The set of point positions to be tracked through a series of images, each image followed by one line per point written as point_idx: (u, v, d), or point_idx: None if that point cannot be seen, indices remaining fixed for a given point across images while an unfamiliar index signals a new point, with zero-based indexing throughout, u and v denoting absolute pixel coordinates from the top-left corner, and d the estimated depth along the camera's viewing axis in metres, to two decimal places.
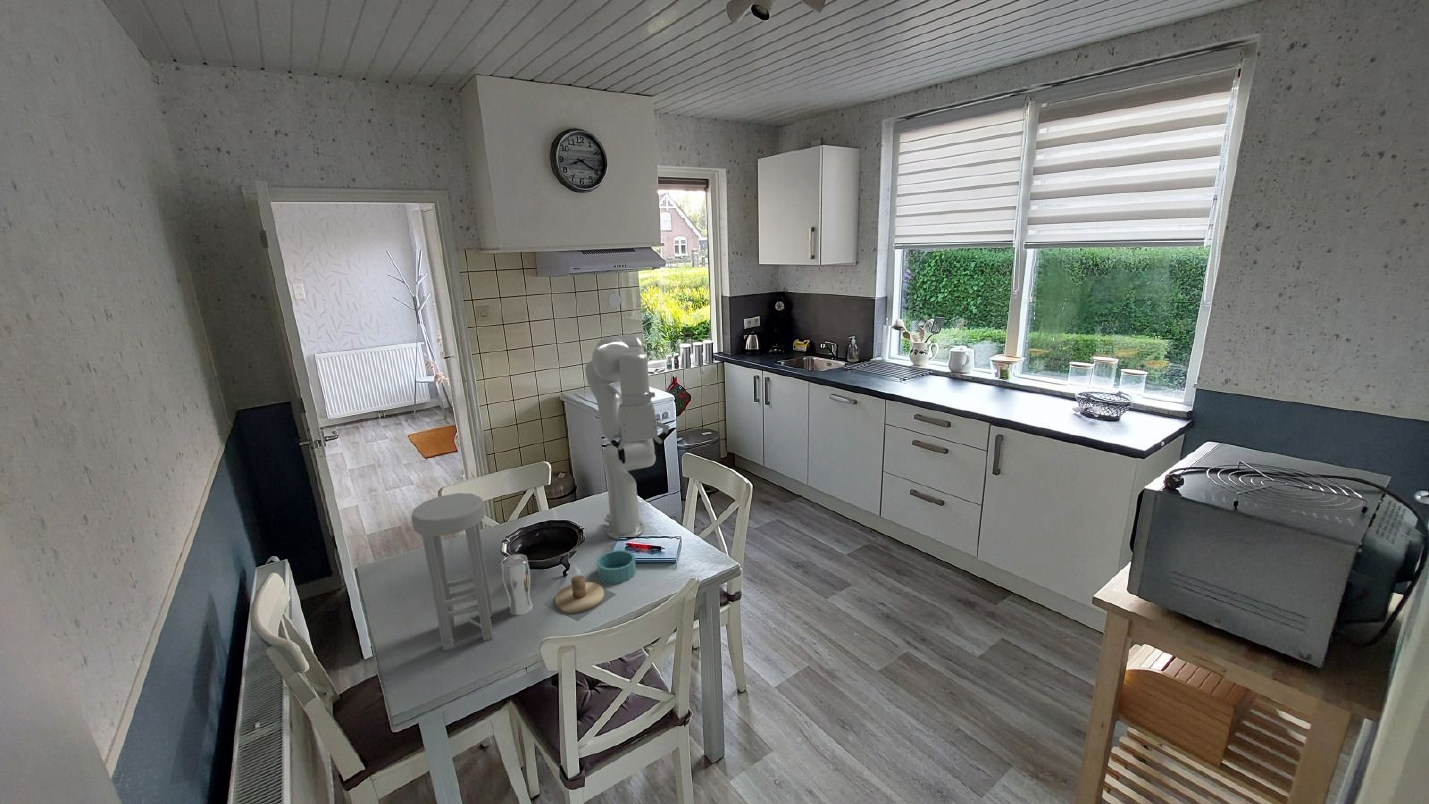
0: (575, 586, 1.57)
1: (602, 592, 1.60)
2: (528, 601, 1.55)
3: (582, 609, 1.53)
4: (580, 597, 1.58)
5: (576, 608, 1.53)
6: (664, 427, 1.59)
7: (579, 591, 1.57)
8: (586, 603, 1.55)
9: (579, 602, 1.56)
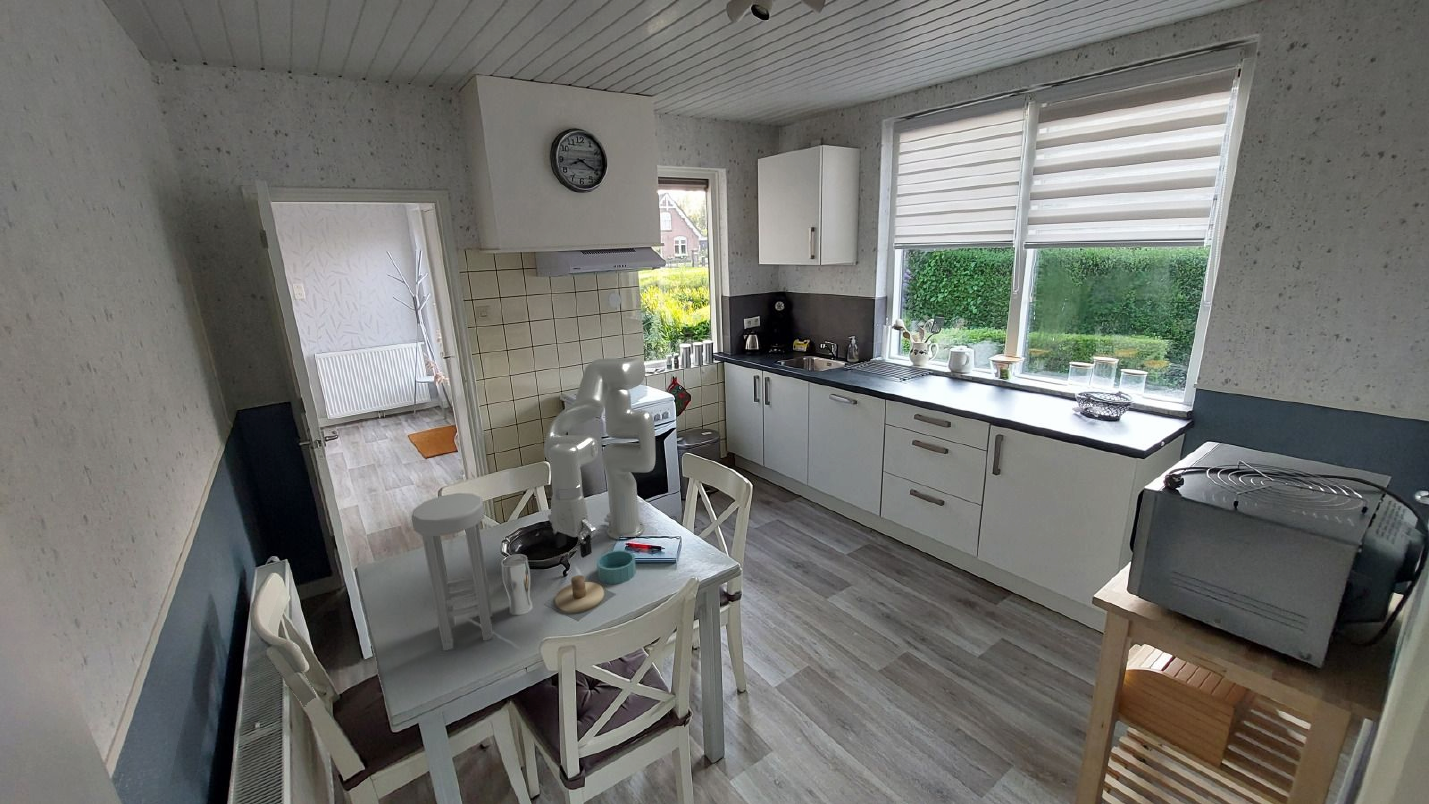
0: (575, 586, 1.57)
1: (602, 592, 1.60)
2: (528, 601, 1.55)
3: (582, 609, 1.53)
4: (580, 597, 1.58)
5: (576, 608, 1.53)
6: None
7: (579, 591, 1.57)
8: (586, 603, 1.55)
9: (579, 602, 1.56)
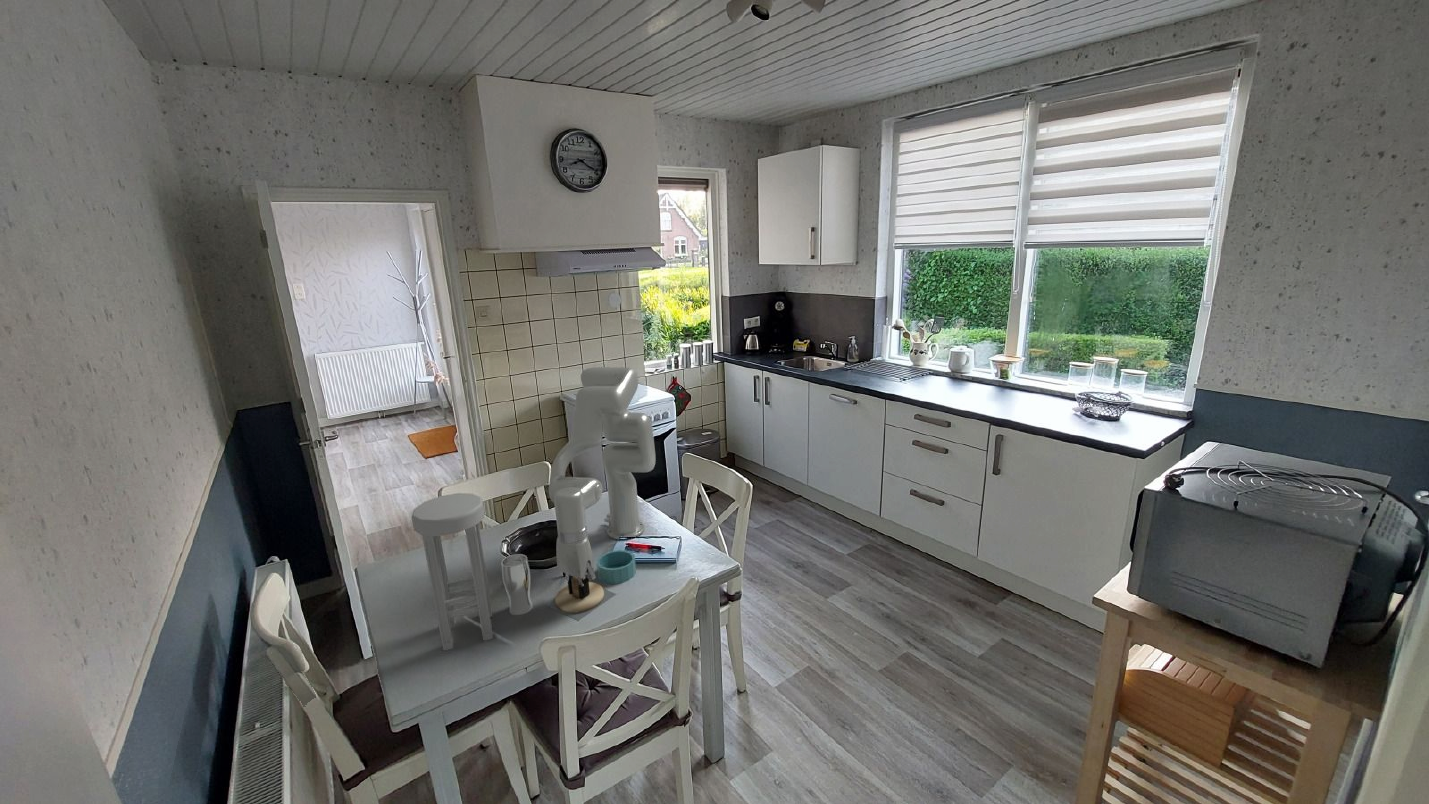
0: (575, 586, 1.57)
1: (602, 592, 1.60)
2: (528, 601, 1.55)
3: (582, 609, 1.53)
4: None
5: (576, 608, 1.53)
6: None
7: None
8: (586, 603, 1.55)
9: (579, 602, 1.56)
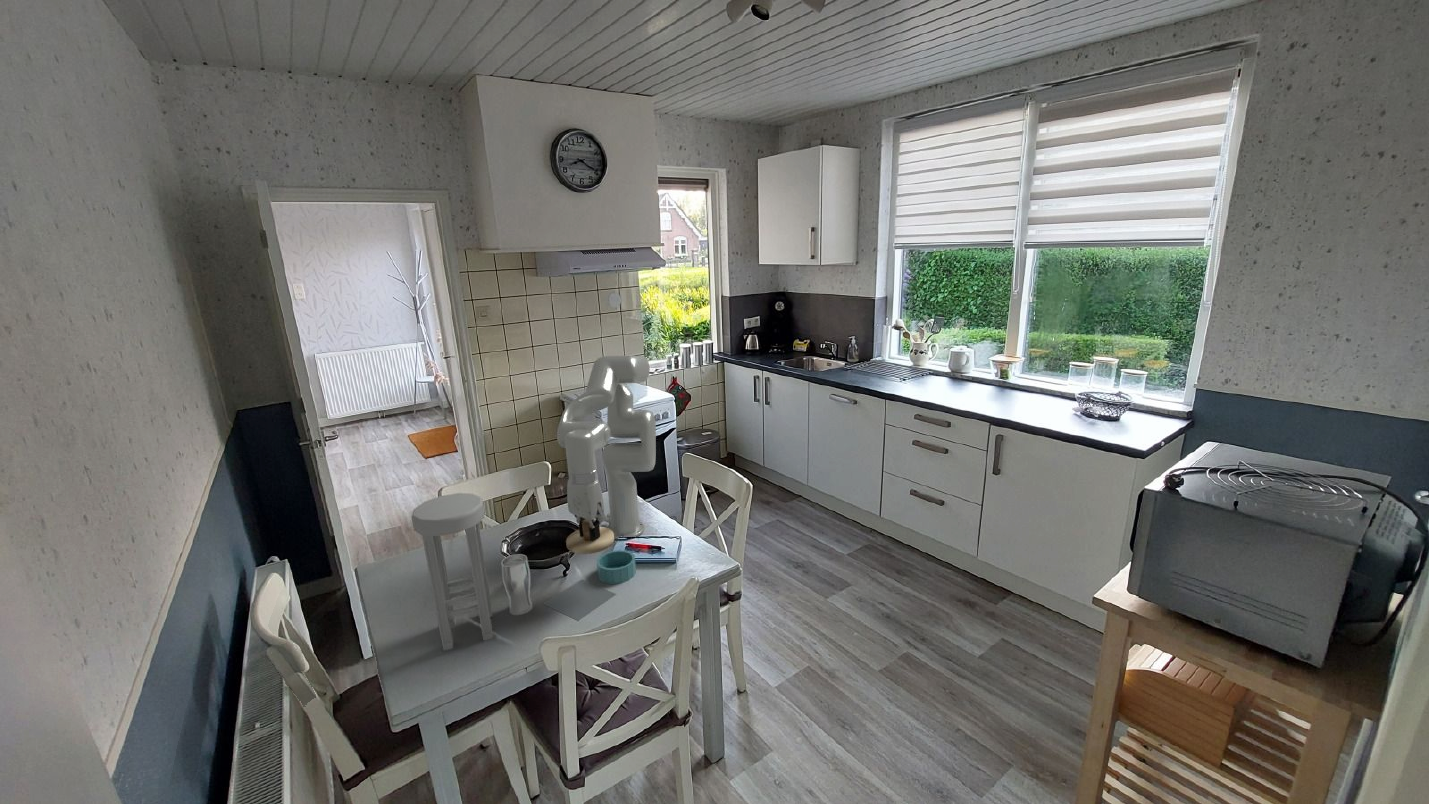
0: (586, 528, 1.58)
1: (612, 535, 1.61)
2: (528, 601, 1.55)
3: (593, 550, 1.55)
4: None
5: (587, 549, 1.55)
6: None
7: None
8: (597, 545, 1.57)
9: (590, 544, 1.57)
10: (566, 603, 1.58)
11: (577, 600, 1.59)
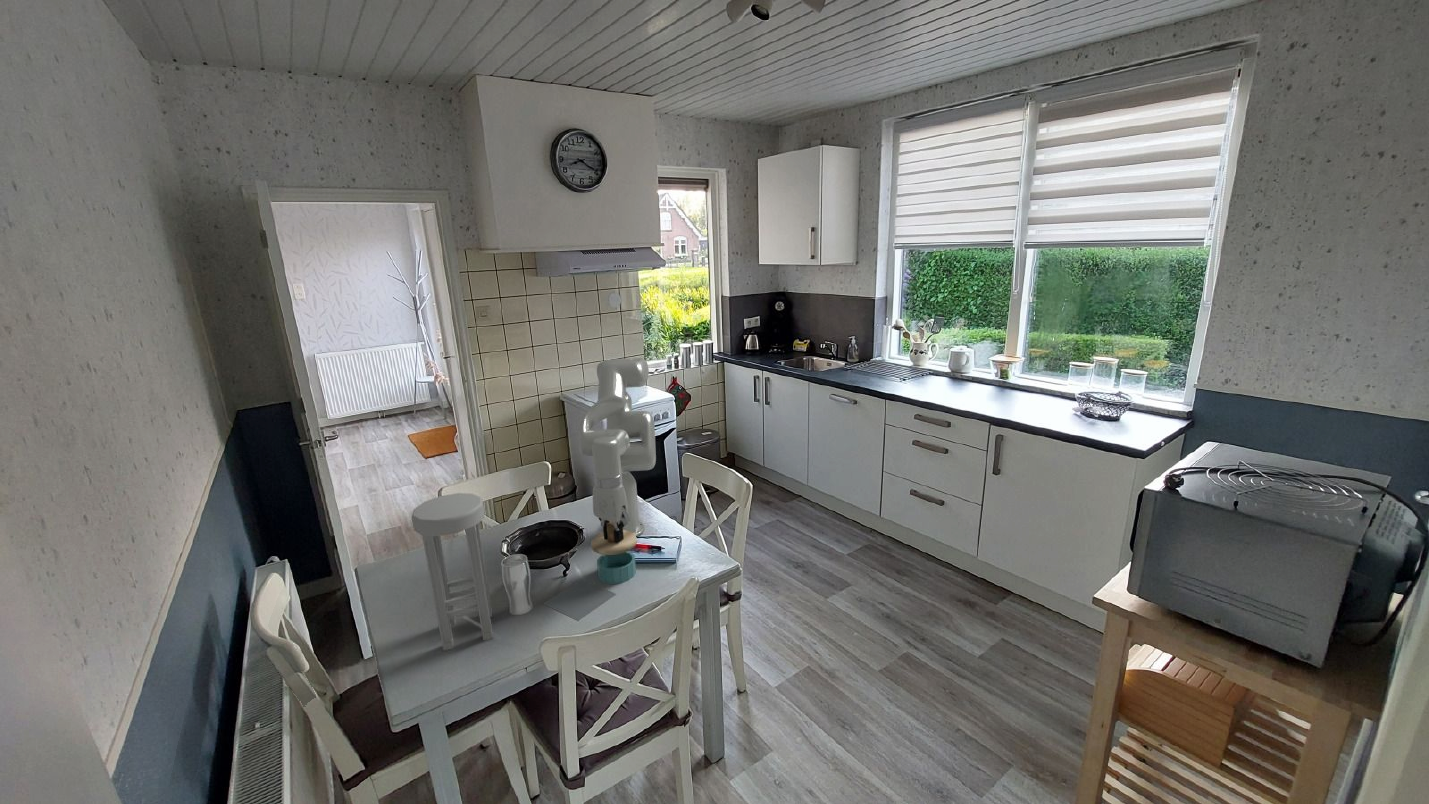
0: (611, 531, 1.66)
1: (635, 537, 1.69)
2: (528, 601, 1.55)
3: (618, 551, 1.63)
4: None
5: (612, 550, 1.63)
6: None
7: None
8: (621, 546, 1.65)
9: (615, 545, 1.65)
10: (566, 603, 1.58)
11: (577, 600, 1.59)
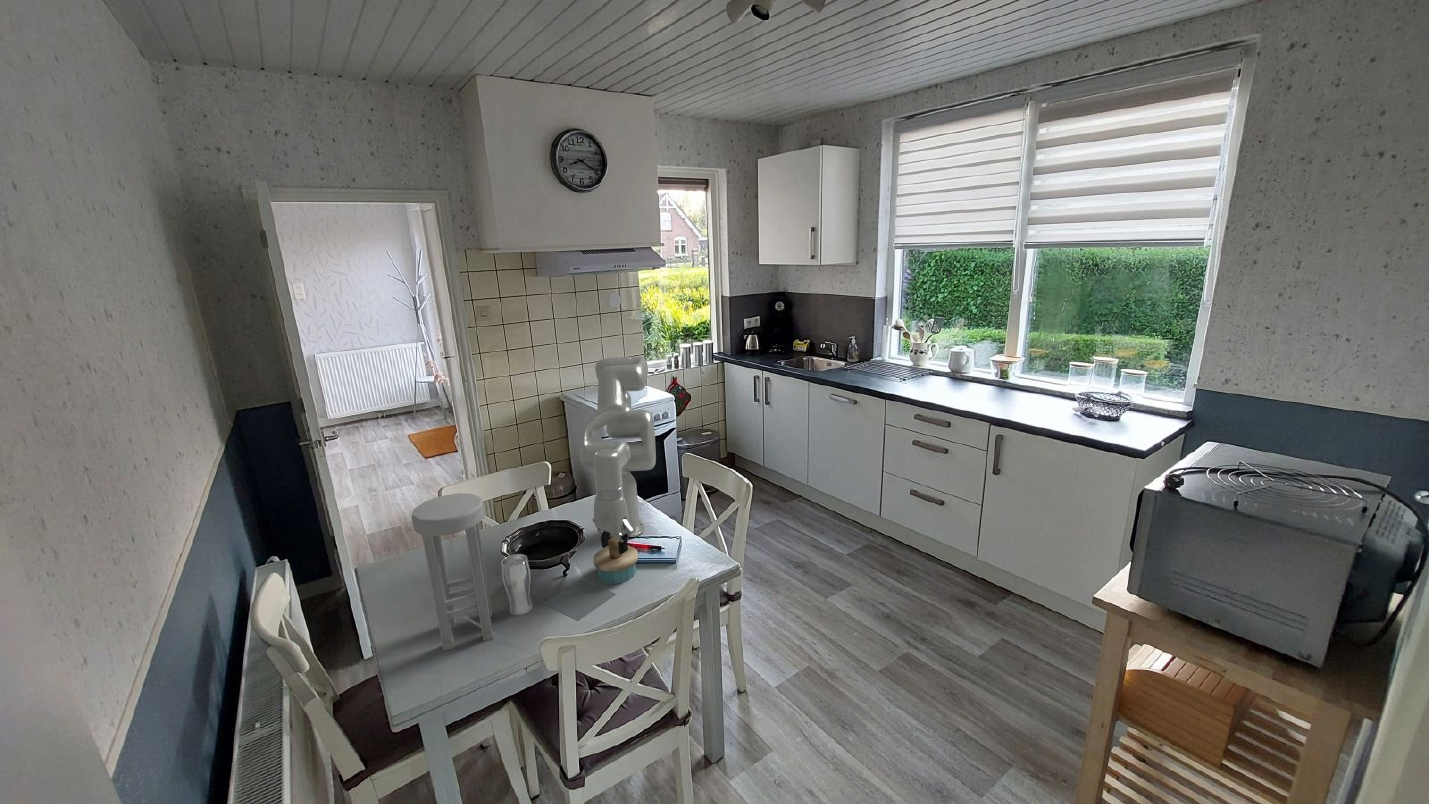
0: (612, 547, 1.68)
1: (636, 553, 1.71)
2: (528, 601, 1.55)
3: (619, 567, 1.64)
4: (616, 557, 1.69)
5: (614, 567, 1.64)
6: None
7: (616, 552, 1.68)
8: (623, 562, 1.66)
9: (616, 562, 1.67)
10: (566, 603, 1.58)
11: (577, 600, 1.59)
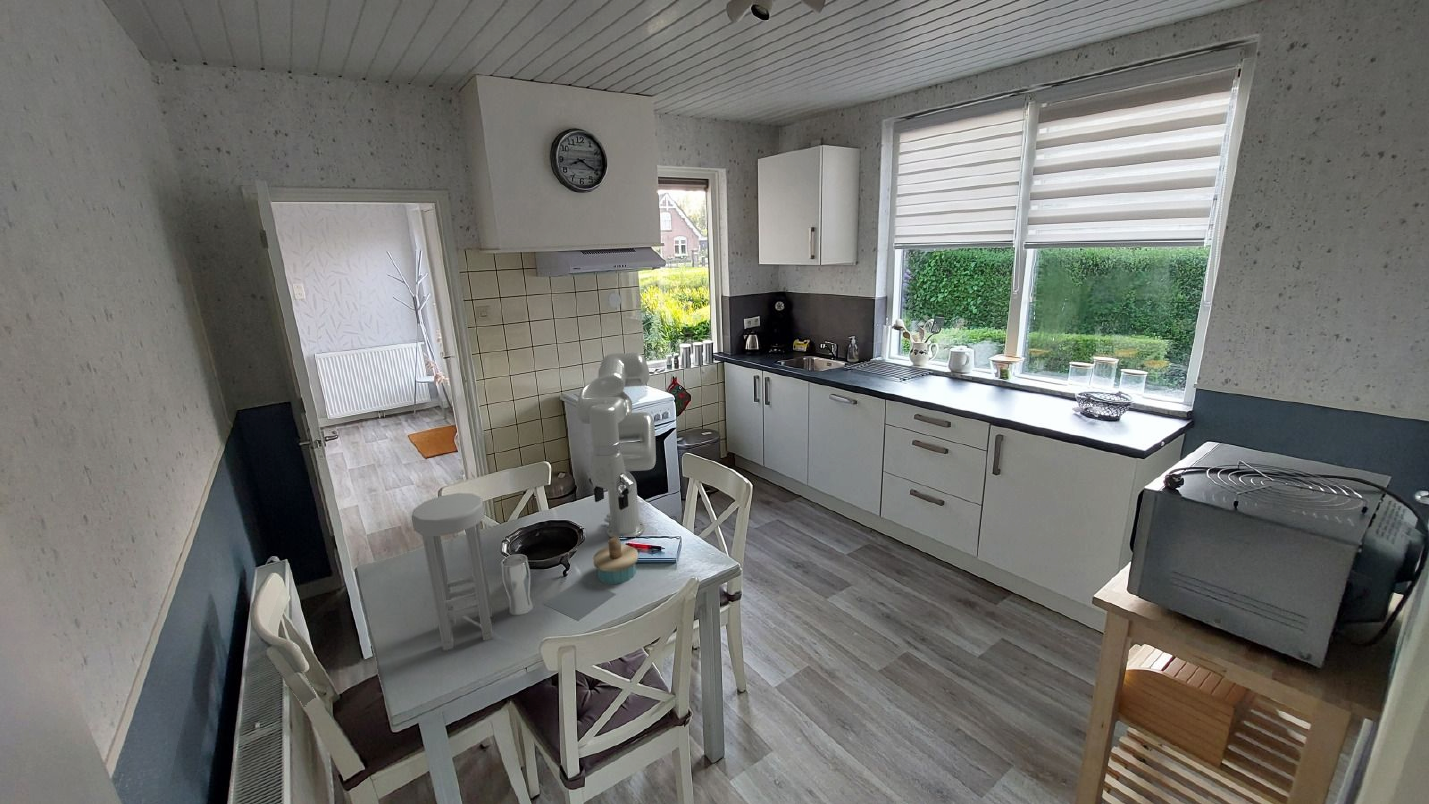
0: (612, 547, 1.68)
1: (636, 553, 1.71)
2: (528, 601, 1.55)
3: (619, 567, 1.64)
4: (616, 557, 1.69)
5: (614, 567, 1.64)
6: None
7: (616, 552, 1.68)
8: (623, 562, 1.66)
9: (616, 562, 1.67)
10: (566, 603, 1.58)
11: (577, 600, 1.59)
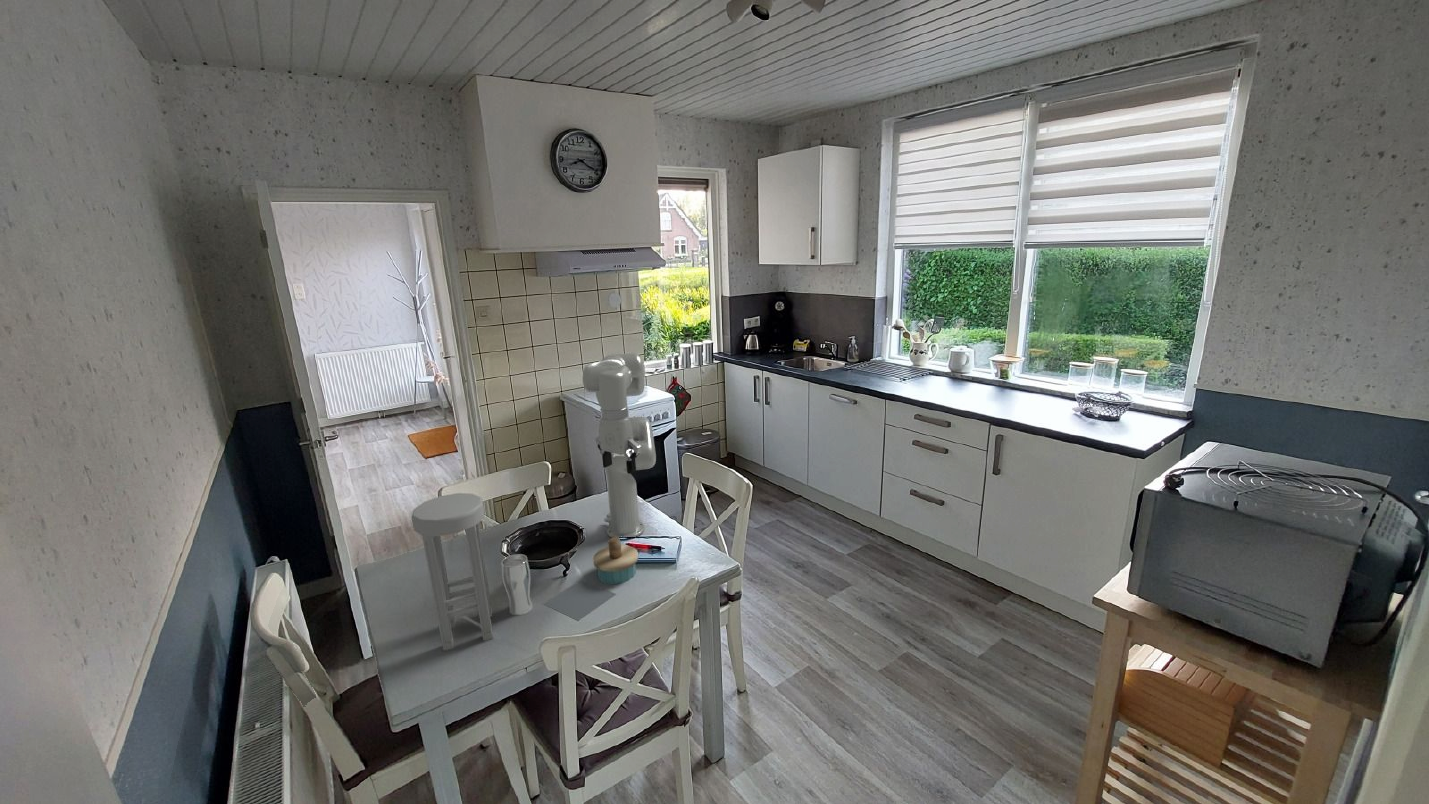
0: (612, 547, 1.68)
1: (636, 553, 1.71)
2: (528, 601, 1.55)
3: (619, 567, 1.64)
4: (616, 557, 1.69)
5: (614, 567, 1.64)
6: None
7: (616, 552, 1.68)
8: (623, 562, 1.66)
9: (616, 562, 1.67)
10: (566, 603, 1.58)
11: (577, 600, 1.59)
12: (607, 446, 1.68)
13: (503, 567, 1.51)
